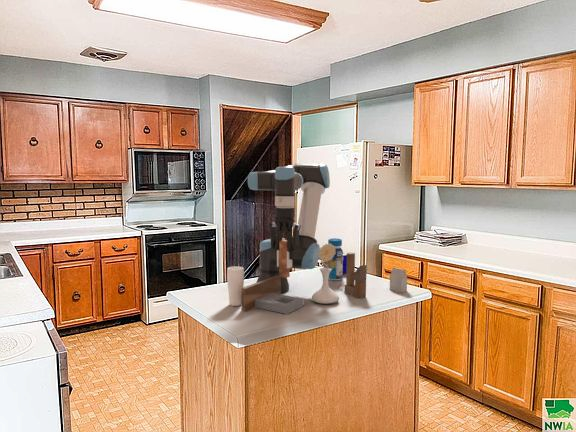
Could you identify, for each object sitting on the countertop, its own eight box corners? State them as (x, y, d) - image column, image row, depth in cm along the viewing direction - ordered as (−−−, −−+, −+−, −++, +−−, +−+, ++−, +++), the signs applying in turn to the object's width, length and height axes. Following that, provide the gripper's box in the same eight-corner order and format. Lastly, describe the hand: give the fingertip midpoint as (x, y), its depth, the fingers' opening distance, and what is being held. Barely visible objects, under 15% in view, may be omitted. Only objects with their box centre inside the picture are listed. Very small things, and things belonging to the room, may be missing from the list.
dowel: (277, 276, 174) (277, 241, 173) (283, 274, 177) (283, 239, 176) (285, 278, 172) (286, 242, 170) (291, 276, 175) (291, 240, 174)
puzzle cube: (332, 275, 232) (332, 256, 231) (323, 271, 241) (323, 253, 240) (348, 273, 236) (349, 254, 235) (339, 269, 245) (339, 251, 244)
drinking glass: (228, 301, 184) (228, 266, 183) (245, 302, 184) (245, 266, 182) (226, 306, 177) (225, 269, 176) (243, 307, 177) (242, 270, 176)
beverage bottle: (324, 276, 228) (325, 238, 226) (340, 276, 229) (341, 237, 227) (327, 280, 219) (328, 240, 217) (344, 280, 220) (345, 240, 218)
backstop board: (241, 310, 173) (241, 287, 172) (276, 296, 193) (276, 275, 192) (245, 311, 171) (245, 288, 171) (280, 297, 191) (280, 276, 190)
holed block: (255, 307, 176) (254, 299, 176) (272, 299, 186) (272, 292, 186) (286, 314, 168) (286, 306, 168) (303, 306, 178) (303, 298, 178)
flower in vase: (306, 299, 187) (307, 241, 185) (330, 296, 192) (331, 239, 189) (321, 308, 176) (322, 245, 173) (346, 305, 180) (347, 244, 178)
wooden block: (359, 298, 190) (360, 256, 188) (344, 292, 199) (344, 252, 197) (366, 297, 191) (367, 256, 190) (350, 291, 201) (351, 252, 199)
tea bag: (401, 292, 199) (402, 270, 198) (389, 289, 205) (390, 267, 204) (406, 291, 201) (407, 269, 200) (394, 288, 207) (395, 266, 206)
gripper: (261, 206, 173) (261, 265, 176) (298, 208, 164) (297, 271, 166) (272, 205, 180) (272, 262, 182) (308, 207, 170) (308, 267, 173)
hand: (284, 266), depth 174 cm, fingers closed on dowel, 4 cm apart
